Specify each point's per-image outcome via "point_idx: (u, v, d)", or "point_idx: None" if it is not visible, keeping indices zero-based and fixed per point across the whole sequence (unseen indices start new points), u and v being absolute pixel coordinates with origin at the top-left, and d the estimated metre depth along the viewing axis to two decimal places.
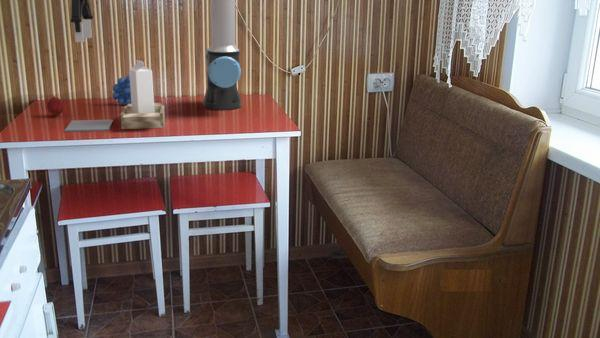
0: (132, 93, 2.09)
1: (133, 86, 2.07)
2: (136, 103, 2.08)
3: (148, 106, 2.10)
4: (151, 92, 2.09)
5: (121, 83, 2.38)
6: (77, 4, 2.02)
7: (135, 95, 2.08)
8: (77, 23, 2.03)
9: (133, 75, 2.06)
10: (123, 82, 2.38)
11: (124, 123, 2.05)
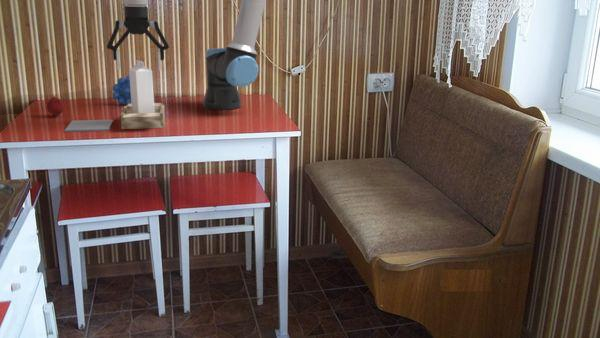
0: (132, 93, 2.09)
1: (133, 86, 2.07)
2: (136, 103, 2.08)
3: (148, 106, 2.10)
4: (151, 92, 2.09)
5: (121, 83, 2.38)
6: None
7: (135, 95, 2.08)
8: None
9: (133, 75, 2.06)
10: (123, 82, 2.38)
11: (124, 123, 2.05)
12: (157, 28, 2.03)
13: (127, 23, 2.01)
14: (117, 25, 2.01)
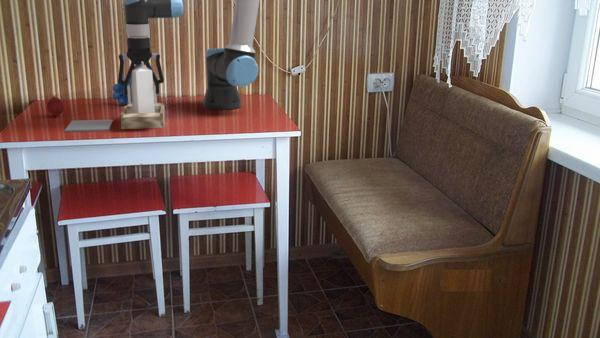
0: (132, 93, 2.09)
1: (133, 86, 2.07)
2: (136, 103, 2.08)
3: (148, 106, 2.10)
4: (151, 92, 2.09)
5: None
6: None
7: (135, 95, 2.08)
8: None
9: (133, 75, 2.06)
10: None
11: (124, 123, 2.05)
12: (158, 61, 2.07)
13: (130, 54, 2.04)
14: (121, 59, 2.04)
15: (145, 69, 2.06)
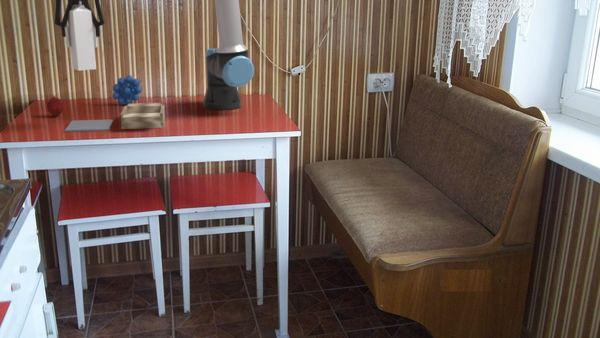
0: (71, 36, 1.98)
1: (71, 28, 1.96)
2: (74, 46, 1.97)
3: (88, 50, 1.99)
4: (90, 34, 1.98)
5: (121, 83, 2.38)
6: None
7: (73, 37, 1.97)
8: None
9: (71, 16, 1.94)
10: (123, 82, 2.38)
11: (124, 123, 2.05)
12: (97, 1, 1.96)
13: None
14: None
15: (83, 9, 1.95)
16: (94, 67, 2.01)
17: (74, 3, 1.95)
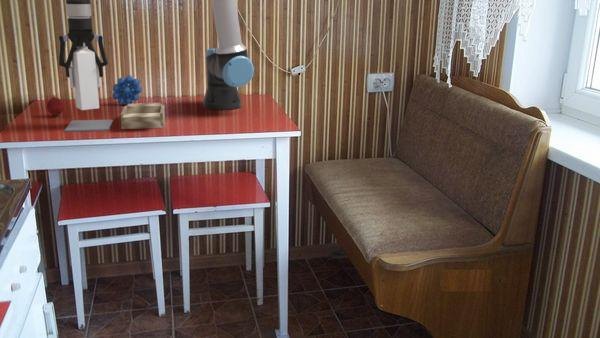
0: (74, 76, 2.02)
1: (75, 68, 2.00)
2: (78, 86, 2.01)
3: (91, 90, 2.03)
4: (94, 75, 2.02)
5: (121, 83, 2.38)
6: None
7: (77, 78, 2.01)
8: None
9: (75, 57, 1.99)
10: (123, 82, 2.38)
11: (124, 123, 2.05)
12: (100, 43, 2.00)
13: (70, 35, 1.97)
14: (62, 40, 1.97)
15: (87, 51, 1.99)
16: (97, 106, 2.05)
17: (78, 45, 1.99)
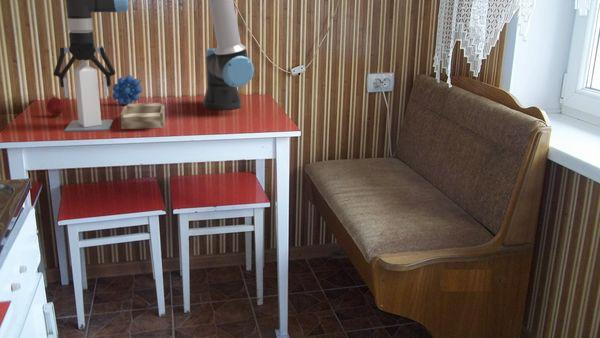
0: (77, 93, 2.04)
1: (78, 86, 2.02)
2: (80, 104, 2.03)
3: (93, 107, 2.05)
4: (96, 92, 2.04)
5: (121, 83, 2.38)
6: None
7: (79, 95, 2.03)
8: None
9: (77, 75, 2.01)
10: (123, 82, 2.38)
11: (124, 123, 2.05)
12: (103, 54, 2.01)
13: (72, 49, 1.99)
14: (62, 52, 1.98)
15: (89, 69, 2.01)
16: (99, 123, 2.07)
17: (79, 59, 2.00)
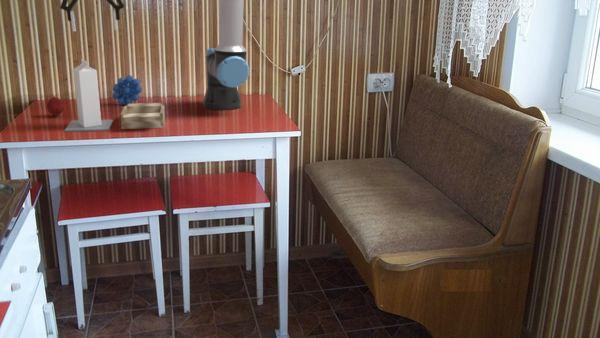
0: (77, 94, 2.04)
1: (77, 86, 2.02)
2: (80, 104, 2.03)
3: (93, 107, 2.05)
4: (96, 92, 2.04)
5: (121, 83, 2.38)
6: None
7: (79, 96, 2.03)
8: None
9: (77, 75, 2.00)
10: (123, 82, 2.38)
11: (124, 123, 2.05)
12: None
13: None
14: None
15: (89, 69, 2.01)
16: (99, 123, 2.07)
17: None
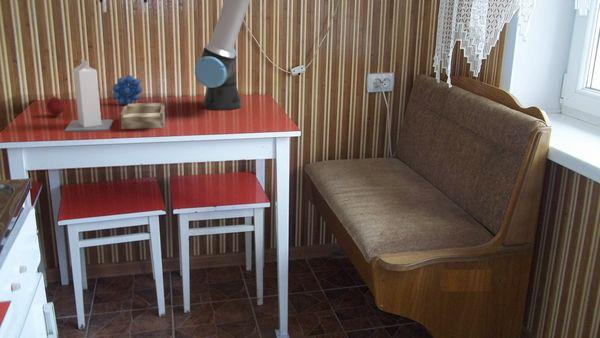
0: (77, 94, 2.04)
1: (77, 86, 2.02)
2: (80, 104, 2.03)
3: (93, 107, 2.05)
4: (96, 92, 2.04)
5: (121, 83, 2.38)
6: None
7: (79, 96, 2.03)
8: None
9: (77, 75, 2.00)
10: (123, 82, 2.38)
11: (124, 123, 2.05)
12: None
13: None
14: None
15: (89, 69, 2.01)
16: (99, 123, 2.07)
17: None
